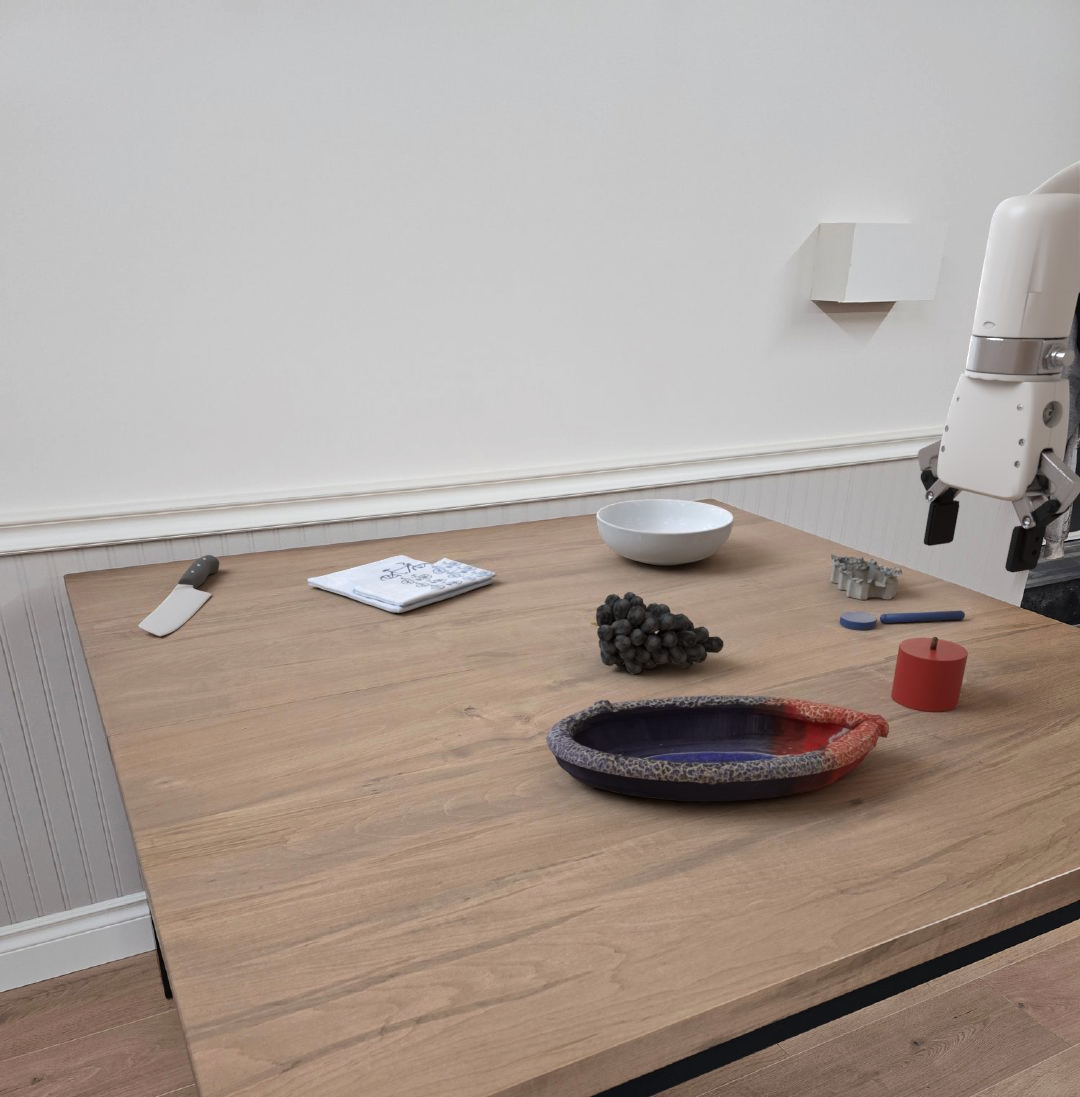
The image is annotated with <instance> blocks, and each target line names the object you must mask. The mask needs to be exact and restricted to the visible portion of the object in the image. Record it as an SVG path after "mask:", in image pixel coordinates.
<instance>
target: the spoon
mask: <svg viewBox="0 0 1080 1097" xmlns="http://www.w3.org/2000/svg"><path fill="white" fill-rule="evenodd" d="M965 616H966V613H965V612H964V611H963V610H960V609H959V610H937V611H918V612H917V611H916V612H894V613H883V614H881V615H880V616H879V621H880V623H882V624H900V623H902V622H903V623H920V622H921V623H923V622H943V620H947V621H962V620H964V618H965ZM877 619H878V618H877V616H876V615H875V614H872V613H869V612H865V611H857V610H852V611H851V610H850V611H845V612H842V613H841V614H840V617H839V624H840V626H842V627H845V628H846V629H849V630H856V631H868V630H873V629H875V628H876V627H877V622H878V620H877ZM903 623H902V624H903Z"/></svg>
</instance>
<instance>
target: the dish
mask: <svg viewBox="0 0 1080 1097" xmlns="http://www.w3.org/2000/svg"><path fill="white" fill-rule="evenodd" d="M889 733H890V725H889V723H888V722H887V721H886V720H885V718H884V717H883V716H882V715H881V714H874V713H867V712H863V711H858V710H854V709H850V708H846V707H843V706H838V705H833V704H828V703H822V702H815V701H808V700H803V699H797V698H787V697H779V696H778V697H777V696H765V695H742V694H741V695H732V694H730V695H729V694H727V695H725V694H724V695H723V694H722V695H721V694H719V695H714V694H713V695H687V696H685V695H684V696H671V697H659V698H657V697H656V698H647V699H638V700H628V701H618V702H611V701H610V700H608V699H598V700H596V702H595V701H594V704H593V705H591V706H588V707H587V708H584V709H582V710H580V711H577V712H574V713H572V714H570V715H568V716H566V717H564V718H562V719H561V720H559V721H557V722H556V723H555V724H554V725H553V726H552V728H550V730H549V731H548V732H547V734H546V735H547V736H546V745H547V747H548V750H549V751H550V752H551V753H552V754H553V756H554V758H555V760H556V762H557V764H558V766H560V768H561V769H563V771H565V772H566V773H567V774H568V775H570V776H571V777H572V778H573V779H574V780H577V781H578V782H580V783H581V784H585V785H587V786H590V787H593V788H595V789H599V790H603V791H608V792H612V793H617V794H620V795H621V794H622V795H626V796H634V797H641V798H649V799H658V800H666V801H679V802H680V801H682V802H733V801H748V800H761V799H771V798H779V797H785V796H791V795H792V796H793V795H799V794H803V793H807V792H812V791H816V790H819V789H822V788H825V787H827V786H830V785H832V784H834V783H835V782H836V781H838V780H839V779H840V778H842V777H843V776H844V775H846V774H848V773H849V772H851V771H852V770H853V769H855V767H857V766H858V765H860V764H861V763H862V762H863V761H864V760H865V758H866V757H867V756H868V754H869V753H870V752H871V750H873V749H874V748H875V747H876V746H877V744H878V740H879V738H884V739H887V738H888V735H889Z"/></svg>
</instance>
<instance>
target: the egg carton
mask: <svg viewBox="0 0 1080 1097" xmlns="http://www.w3.org/2000/svg"><path fill="white" fill-rule="evenodd" d="M830 558H831V563H832V565H831V571H830V572H831V573H830V582H831V583H833V584H838V585H837V589H839V590H840V591H846V593H845V594H846V596H845V597H848V598H852V599H857V600H860V601H861V600H862V601H866V600H868V598H880V599H883V600H891V599H892V598H893V597H894V598H895V597H896V595H897V591H898V588H899V579H898V577H899V576H902V575H903V570H901V569H902V568H899V567H894V568H893V567H889V566H886V565H882V564H878V561H877V560H876V559H874V558H870V559H869V561H868V560H864V556H860V557H858V558H857V557H855V556H850V557H849V556H847V555H844V556H837V555H834V554H832V553H831V554H830Z"/></svg>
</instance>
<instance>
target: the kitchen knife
mask: <svg viewBox="0 0 1080 1097" xmlns="http://www.w3.org/2000/svg"><path fill="white" fill-rule="evenodd" d="M219 569H220V561H219V558H217V557H215V556H213V555H211V554H205V555H204V556H201V557H199V558H198V559H196V560H195V561H194V562H193V563H192V564H191V565H189V567H188V568H187V570H186V571H184V573H183V574H182V576H180V579H179V580H178V582H177V585H176V586H175V587H174V588H173V590H172V591H171V592H170V593H169V594H168V596H167V597H166V598H165V599H164V600H163V601H162V602H161V603H160V604H159V605H158V606H157V607H156V608H155V609H154V610H153V611H151V613H150V614H148V615H147V616H146V617H145V618H144V619H143V620H142V621H141V622H140V623H138V626H137V627H138V628H139V629H141V630H144V631H145V632H148V633H150V634H152V635H155V636H157V637H162V636H163V637H164V636H166V635H169V634H170V633H173V632H174V631H176V630H178V629H179V628H181V627H182V626H183V625H185V623H186V622H187V621H189V619H191V618H192V617H193V616H194V615H195V614H196V613H197V612H198V610H200V609H201V607H202V606H203V605H204V604H205V603H206V602H207V601H208V599H209V598H210V597H211V596H212V593H210V592H207V591H202V590H199V589H197V588H199V587H200V586H202V585H203V584H204V582H205V581H206V579H207V577H208V576H209V575H212V574H217V573H218V572H219Z"/></svg>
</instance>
